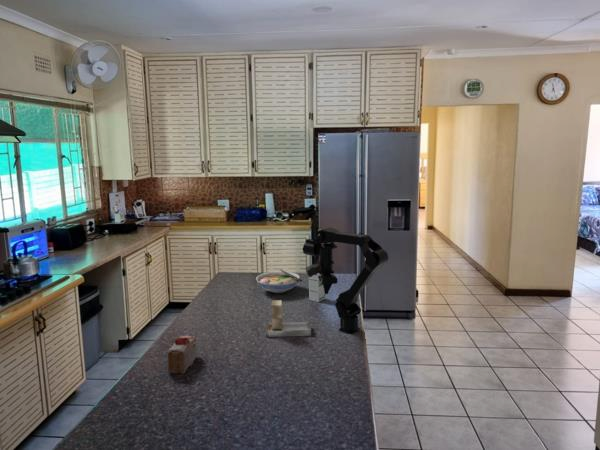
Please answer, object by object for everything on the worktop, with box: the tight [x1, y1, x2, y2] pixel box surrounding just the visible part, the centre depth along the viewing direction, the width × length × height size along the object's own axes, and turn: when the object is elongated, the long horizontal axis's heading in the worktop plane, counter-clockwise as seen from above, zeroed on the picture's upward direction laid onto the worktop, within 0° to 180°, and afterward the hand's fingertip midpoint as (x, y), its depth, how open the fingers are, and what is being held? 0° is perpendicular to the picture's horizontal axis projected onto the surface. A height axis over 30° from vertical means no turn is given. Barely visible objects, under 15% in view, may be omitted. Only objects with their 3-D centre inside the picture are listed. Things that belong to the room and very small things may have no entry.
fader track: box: [265, 321, 312, 338], centre depth 185 cm, size 18×8×2 cm, turn 92°
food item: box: [166, 334, 200, 374], centre depth 159 cm, size 14×8×10 cm, turn 176°
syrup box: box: [308, 273, 326, 303], centre depth 221 cm, size 6×6×14 cm
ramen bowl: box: [255, 268, 303, 294], centre depth 235 cm, size 25×23×8 cm
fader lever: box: [271, 299, 283, 330], centre depth 183 cm, size 4×6×11 cm
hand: (326, 293), depth 191 cm, fingers closed
